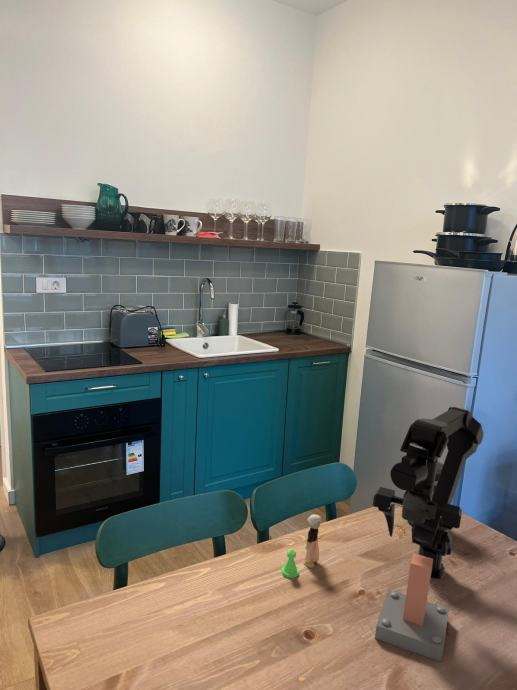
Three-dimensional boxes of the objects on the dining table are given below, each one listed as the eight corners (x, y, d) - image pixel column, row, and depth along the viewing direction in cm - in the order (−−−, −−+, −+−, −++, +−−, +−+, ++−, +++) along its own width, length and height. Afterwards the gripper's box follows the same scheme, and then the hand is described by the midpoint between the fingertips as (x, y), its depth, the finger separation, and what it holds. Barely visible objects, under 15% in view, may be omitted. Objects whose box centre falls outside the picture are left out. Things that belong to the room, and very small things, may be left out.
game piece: (296, 580, 126) (298, 557, 125) (278, 575, 128) (280, 552, 126) (300, 569, 130) (303, 547, 129) (283, 565, 132) (285, 543, 130)
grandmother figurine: (317, 571, 130) (322, 523, 128) (301, 568, 131) (306, 521, 128) (320, 554, 137) (324, 508, 135) (305, 551, 138) (309, 506, 136)
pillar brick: (405, 608, 115) (413, 553, 112) (424, 614, 113) (433, 558, 111) (402, 619, 111) (410, 563, 108) (422, 626, 109) (431, 569, 107)
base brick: (386, 601, 121) (388, 587, 120) (447, 620, 116) (449, 606, 115) (374, 638, 109) (376, 623, 109) (441, 661, 104) (443, 646, 104)
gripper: (372, 479, 115) (363, 546, 118) (464, 501, 108) (452, 572, 111) (381, 462, 125) (373, 524, 128) (466, 482, 118) (455, 547, 121)
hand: (411, 541), depth 122 cm, fingers open, 9 cm apart
